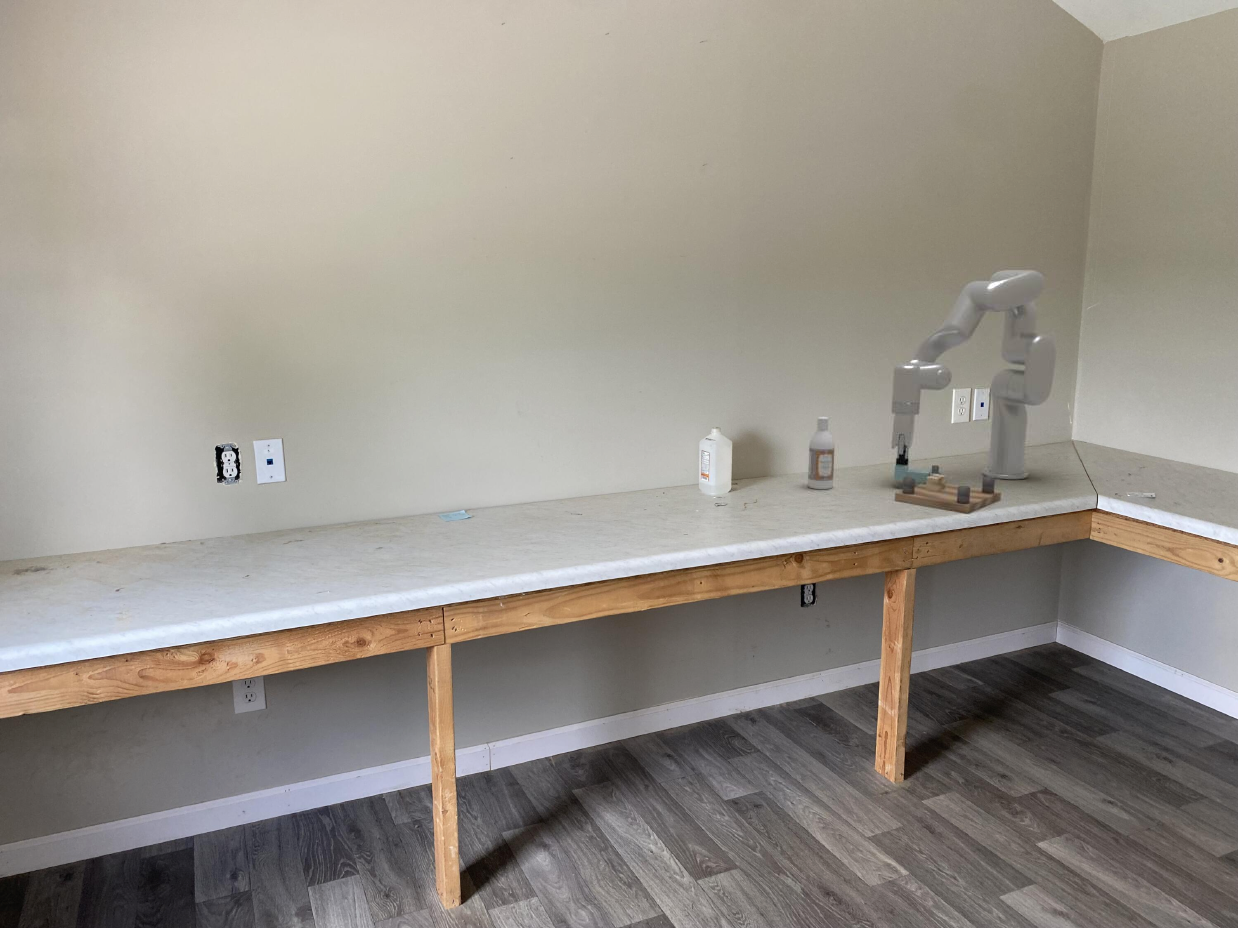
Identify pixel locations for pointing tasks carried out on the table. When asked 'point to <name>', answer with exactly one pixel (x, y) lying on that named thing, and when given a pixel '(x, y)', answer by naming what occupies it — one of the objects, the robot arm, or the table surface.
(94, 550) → the table surface
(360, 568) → the table surface
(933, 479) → the stool seat
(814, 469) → the bath foam
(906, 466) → the leg
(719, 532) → the table surface
